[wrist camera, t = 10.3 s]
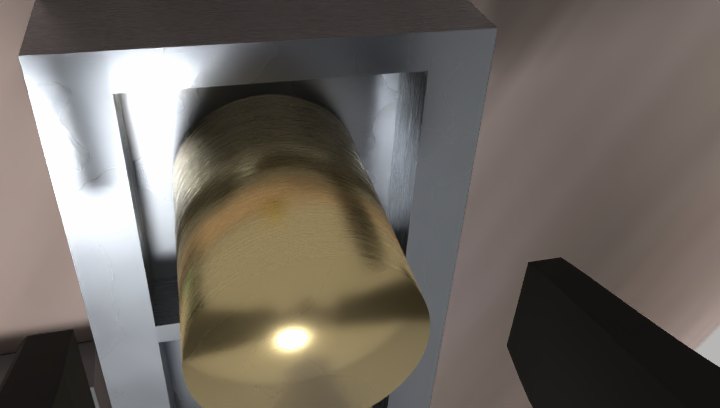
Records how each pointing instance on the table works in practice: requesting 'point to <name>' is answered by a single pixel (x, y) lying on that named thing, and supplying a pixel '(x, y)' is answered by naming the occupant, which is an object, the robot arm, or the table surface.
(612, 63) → the table surface
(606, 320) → the robot arm
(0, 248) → the table surface
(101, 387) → the grey square tray
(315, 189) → the cylinder
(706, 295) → the table surface
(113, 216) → the grey shallow tray
